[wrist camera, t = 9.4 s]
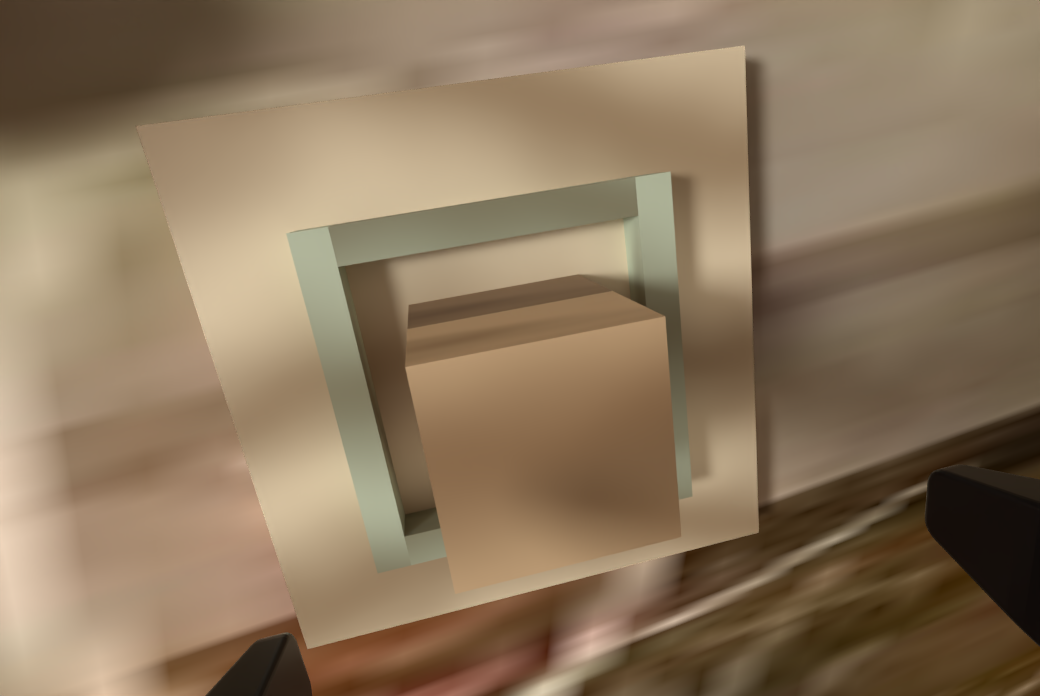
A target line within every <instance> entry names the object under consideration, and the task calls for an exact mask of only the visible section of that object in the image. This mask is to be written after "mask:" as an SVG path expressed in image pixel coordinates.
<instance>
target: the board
mask: <svg viewBox="0 0 1040 696" xmlns="http://www.w3.org/2000/svg"><path fill="white" fill-rule="evenodd" d="M136 128H137V131H138V134H139V137H140V140H141V143H142V147H143V150H144V153H145V156H146V159H147V162H148V165H149V168H150V171H151V174H152V177H153V180H154V183H155V186H156V189H157V192H158V195H159V198H160V201H161V204H162V207H163V210H164V213H165V217H166V220H167V223H168V226H169V229H170V232H171V235H172V238H173V241H174V244H175V247H176V250H177V253H178V256H179V259H180V262H181V265H182V268H183V271H184V274H185V277H186V280H187V283H188V287H189V290H190V293H191V296H192V299H193V302H194V305H195V308H196V311H197V314H198V317H199V320H200V323H201V326H202V329H203V332H204V335H205V338H206V341H207V344H208V347H209V350H210V353H211V357H212V360H213V363H214V366H215V369H216V372H217V375H218V378H219V381H220V384H221V387H222V390H223V393H224V396H225V399H226V402H227V405H228V408H229V411H230V414H231V417H232V420H233V423H234V427H235V430H236V433H237V436H238V439H239V442H240V445H241V448H242V451H243V454H244V457H245V460H246V463H247V466H248V469H249V472H250V475H251V478H252V481H253V484H254V487H255V490H256V493H257V497H258V500H259V503H260V506H261V509H262V512H263V515H264V518H265V521H266V524H267V527H268V530H269V533H270V536H271V539H272V542H273V545H274V548H275V551H276V554H277V557H278V560H279V563H280V567H281V570H282V573H283V576H284V579H285V582H286V585H287V588H288V591H289V594H290V597H291V600H292V603H293V606H294V609H295V612H296V615H297V618H298V621H299V624H300V627H301V630H302V633H303V637H304V640H305V643H306V646H307V649H310V648H313V647H317V646H321V645H325V644H329V643H333V642H337V641H341V640H344V639H348V638H352V637H356V636H360V635H364V634H368V633H372V632H375V631H379V630H383V629H387V628H391V627H395V626H399V625H402V624H406V623H410V622H414V621H418V620H422V619H426V618H430V617H433V616H437V615H441V614H445V613H449V612H453V611H457V610H461V609H464V608H468V607H472V606H476V605H480V604H484V603H488V602H491V601H495V600H499V599H503V598H507V597H511V596H515V595H519V594H522V593H526V592H530V591H534V590H538V589H542V588H546V587H550V586H553V585H557V584H561V583H565V582H569V581H573V580H577V579H580V578H584V577H588V576H592V575H596V574H600V573H604V572H608V571H611V570H615V569H619V568H623V567H627V566H631V565H635V564H638V563H642V562H646V561H650V560H654V559H658V558H662V557H666V556H669V555H673V554H677V553H681V552H685V551H689V550H693V549H697V548H700V547H704V546H708V545H712V544H716V543H720V542H724V541H727V540H731V539H735V538H739V537H743V536H747V535H751V534H755V533H758V532H759V520H758V485H757V451H756V416H755V381H754V347H753V312H752V277H751V243H750V208H749V173H748V139H747V104H746V69H745V46H738V47H731V48H723V49H715V50H708V51H700V52H693V53H685V54H678V55H670V56H662V57H655V58H647V59H640V60H632V61H625V62H617V63H609V64H602V65H594V66H587V67H579V68H572V69H564V70H556V71H549V72H541V73H534V74H526V75H519V76H511V77H503V78H496V79H488V80H481V81H473V82H466V83H458V84H450V85H443V86H435V87H428V88H420V89H413V90H405V91H397V92H390V93H382V94H375V95H367V96H360V97H352V98H344V99H337V100H329V101H322V102H314V103H307V104H299V105H291V106H284V107H276V108H269V109H261V110H254V111H246V112H238V113H231V114H223V115H216V116H208V117H201V118H193V119H185V120H178V121H170V122H163V123H155V124H148V125H140V126H136ZM577 274H579V275H581V276H583V277H585V278H587V279H589V280H591V281H593V282H595V283H597V284H599V285H601V286H603V287H605V288H608V289H610V290H612V291H614V292H616V293H618V294H620V295H622V296H624V297H626V298H628V299H630V300H632V301H634V302H637V303H639V304H641V305H643V306H645V307H647V308H649V309H651V310H653V311H655V312H657V313H659V314H661V315H663V316H665V319H666V333H667V346H668V360H669V374H670V387H671V401H672V414H673V428H674V441H675V455H676V469H677V482H678V496H679V509H680V523H681V536H682V537H679V538H676V539H672V540H668V541H664V542H660V543H656V544H652V545H648V546H644V547H640V548H636V549H632V550H628V551H624V552H620V553H616V554H612V555H608V556H604V557H600V558H596V559H592V560H588V561H584V562H580V563H576V564H572V565H568V566H565V567H561V568H557V569H553V570H549V571H545V572H541V573H537V574H533V575H529V576H525V577H521V578H517V579H513V580H509V581H505V582H501V583H497V584H493V585H489V586H485V587H481V588H477V589H473V590H469V591H465V592H461V593H458V594H455V591H454V587H453V582H452V578H451V573H450V569H449V564H448V559H447V555H446V550H445V546H444V541H443V537H442V532H441V528H440V523H439V519H438V514H437V509H436V505H435V500H434V496H433V491H432V487H431V482H430V478H429V473H428V469H427V464H426V460H425V455H424V450H423V446H422V441H421V437H420V432H419V428H418V423H417V419H416V414H415V410H414V405H413V400H412V396H411V391H410V387H409V382H408V378H407V373H406V369H405V361H406V344H407V326H408V308H409V305H411V304H416V303H422V302H427V301H433V300H439V299H444V298H450V297H455V296H461V295H466V294H472V293H477V292H483V291H488V290H494V289H499V288H505V287H511V286H516V285H522V284H527V283H533V282H538V281H544V280H549V279H555V278H560V277H566V276H571V275H577Z"/></svg>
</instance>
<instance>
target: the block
mask: <svg viewBox="0 0 1040 696" xmlns="http://www.w3.org/2000/svg"><path fill="white" fill-rule="evenodd" d="M405 369H406V373H407V378H408V382H409V387H410V391H411V396H412V400H413V405H414V410H415V414H416V419H417V423H418V428H419V432H420V437H421V441H422V446H423V450H424V455H425V460H426V464H427V469H428V473H429V478H430V482H431V487H432V491H433V496H434V500H435V505H436V509H437V514H438V519H439V523H440V528H441V532H442V537H443V541H444V546H445V550H446V555H447V559H448V564H449V569H450V573H451V578H452V582H453V587H454V591H455V594H458V593H461V592H465V591H469V590H473V589H477V588H481V587H485V586H489V585H493V584H497V583H501V582H505V581H509V580H513V579H517V578H521V577H525V576H529V575H533V574H537V573H541V572H545V571H549V570H553V569H557V568H561V567H565V566H568V565H572V564H576V563H580V562H584V561H588V560H592V559H596V558H600V557H604V556H608V555H612V554H616V553H620V552H624V551H628V550H632V549H636V548H640V547H644V546H648V545H652V544H656V543H660V542H664V541H668V540H672V539H676V538H679V537H682V536H681V523H680V509H679V496H678V482H677V469H676V455H675V441H674V428H673V414H672V401H671V387H670V374H669V360H668V346H667V333H666V319H665V316H663V315H661V314H659V313H657V312H655V311H653V310H651V309H649V308H647V307H645V306H643V305H641V304H639V303H637V302H634V301H632V300H630V299H628V298H626V297H624V296H622V295H620V294H618V293H616V292H614V291H612V290H610V289H608V288H605V287H603V286H601V285H599V284H597V283H595V282H593V281H591V280H589V279H587V278H585V277H583V276H581V275H579V274H577V275H571V276H566V277H560V278H555V279H549V280H544V281H538V282H533V283H527V284H522V285H516V286H511V287H505V288H499V289H494V290H488V291H483V292H477V293H472V294H466V295H461V296H455V297H450V298H444V299H439V300H433V301H427V302H422V303H416V304H411V305H409V308H408V326H407V344H406V361H405Z"/></svg>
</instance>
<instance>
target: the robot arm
mask: <svg viewBox="0 0 1040 696" xmlns="http://www.w3.org/2000/svg"><path fill="white" fill-rule="evenodd" d="M925 523H926V526H927V529H928V531H929V532H930V534H931V536H932V537H933V538H934V539H935V540H936V541H937V542H938V543H939V544H940V545H941V546H942V548H943V549H944V550H945V551H946V552H947V553H948V554H949V555H950V556H951V557H952V558H953V559H954V560H955V561H956V562H957V563H958V564H959V565H960V566H961V567H962V568H963V569H964V571H965V572H966V573H967V574H968V575H969V576H970V577H971V578H972V579H973V580H974V581H975V582H976V583H977V584H978V585H979V586H980V587H981V588H982V589H983V590H984V591H985V592H986V594H987V595H988V596H989V597H990V598H991V599H992V600H993V601H994V602H995V603H996V604H997V605H998V606H999V607H1000V608H1001V609H1002V610H1003V611H1004V612H1005V613H1006V614H1007V615H1008V616H1009V617H1010V618H1011V619H1012V620H1013V621H1014V622H1015V623H1016V624H1017V625H1018V626H1019V627H1020V628H1021V630H1023V631H1024V632H1025V633H1026V634H1027V635H1028V636H1029V637H1030V638H1031V639H1032V640H1033V641H1034V642H1035V643H1036V644H1037V645H1039V646H1040V480H1039V479H1034V478H1029V477H1024V476H1019V475H1014V474H1008V473H1003V472H998V471H993V470H988V469H983V468H978V467H973V466H968V465H954V466H950V467H946V468H942V469H938V470H935V471H933V472H932V473H931V474H930V476H929V478H928V483H927V496H926V509H925ZM206 696H312V690H311V684H310V680H309V677H308V674H307V671H306V668H305V665H304V662H303V659H302V656H301V653H300V650H299V647H298V644H297V641H296V639H295V638H294V636H293V635H292V634H290V633H282V634H278V635H274V636H270V637H266V638H262V639H259V640H257V641H256V642H254V643H253V644H252V645H251V646H250V647H249V648H248V650H247V651H246V652H245V653H244V654H243V655H242V656H241V657H240V658H239V659H238V661H237V662H236V663H235V664H234V665H233V666H232V667H231V668H230V669H229V670H228V671H227V673H226V674H225V675H224V676H223V677H222V678H221V679H220V680H219V681H218V682H217V684H216V685H215V686H214V687H213V688H212V689H211V690H210V691H209V692H208V693H207V694H206Z"/></svg>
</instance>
